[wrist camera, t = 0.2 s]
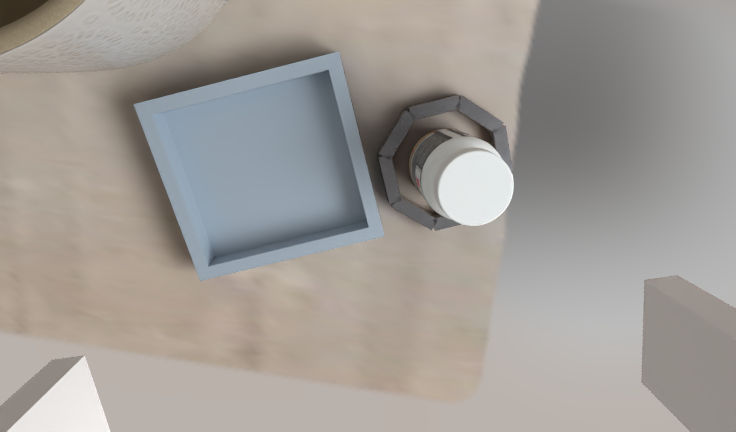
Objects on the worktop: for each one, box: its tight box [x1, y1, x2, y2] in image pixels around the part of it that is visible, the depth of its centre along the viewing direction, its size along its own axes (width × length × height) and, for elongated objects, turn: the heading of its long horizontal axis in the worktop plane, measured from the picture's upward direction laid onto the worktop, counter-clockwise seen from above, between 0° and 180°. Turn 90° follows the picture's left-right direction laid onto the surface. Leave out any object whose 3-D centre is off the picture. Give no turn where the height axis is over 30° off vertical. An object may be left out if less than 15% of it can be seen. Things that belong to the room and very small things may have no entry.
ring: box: [378, 95, 513, 231], centre depth 36 cm, size 10×10×1 cm
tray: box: [134, 51, 384, 281], centre depth 35 cm, size 14×15×2 cm
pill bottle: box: [409, 129, 514, 226], centre depth 32 cm, size 6×6×10 cm
